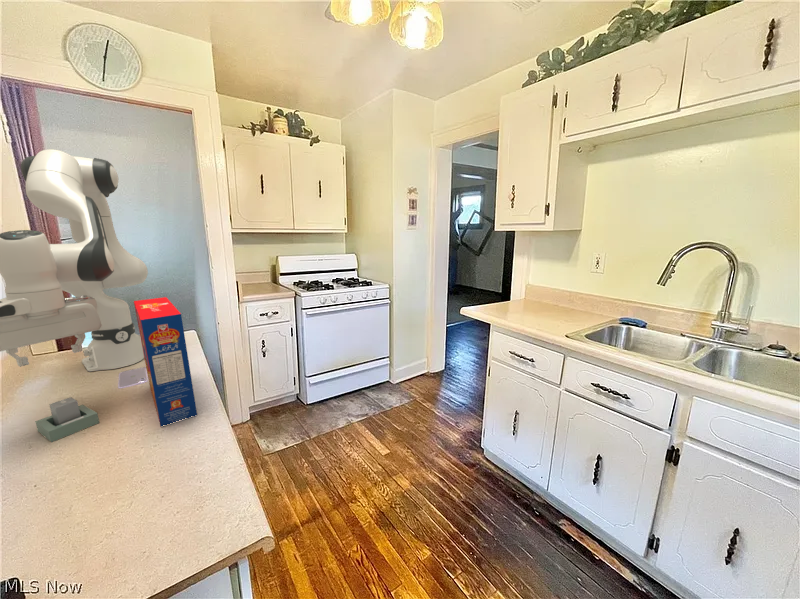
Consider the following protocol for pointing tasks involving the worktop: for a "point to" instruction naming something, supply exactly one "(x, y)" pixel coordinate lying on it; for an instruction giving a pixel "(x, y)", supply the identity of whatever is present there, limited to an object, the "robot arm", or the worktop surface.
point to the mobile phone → (132, 377)
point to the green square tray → (67, 424)
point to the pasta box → (166, 359)
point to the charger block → (65, 411)
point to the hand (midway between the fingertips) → (52, 358)
